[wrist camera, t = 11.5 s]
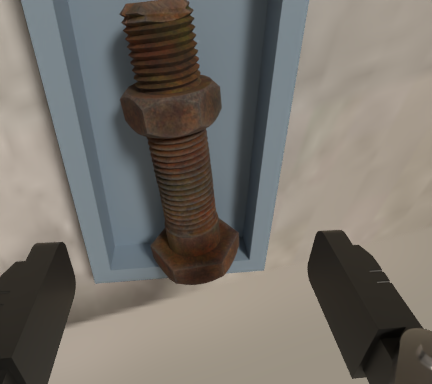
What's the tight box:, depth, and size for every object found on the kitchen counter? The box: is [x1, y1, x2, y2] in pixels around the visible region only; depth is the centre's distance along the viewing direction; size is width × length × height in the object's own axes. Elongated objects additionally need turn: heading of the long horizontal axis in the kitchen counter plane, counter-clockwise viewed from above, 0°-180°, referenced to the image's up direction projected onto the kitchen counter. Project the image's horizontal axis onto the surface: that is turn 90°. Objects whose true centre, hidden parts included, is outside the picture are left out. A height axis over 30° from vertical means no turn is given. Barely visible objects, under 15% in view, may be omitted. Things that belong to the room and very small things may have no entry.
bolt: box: [119, 0, 239, 285], centre depth 18 cm, size 6×5×15 cm
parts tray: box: [21, 0, 309, 284], centre depth 19 cm, size 12×21×3 cm, turn 178°
